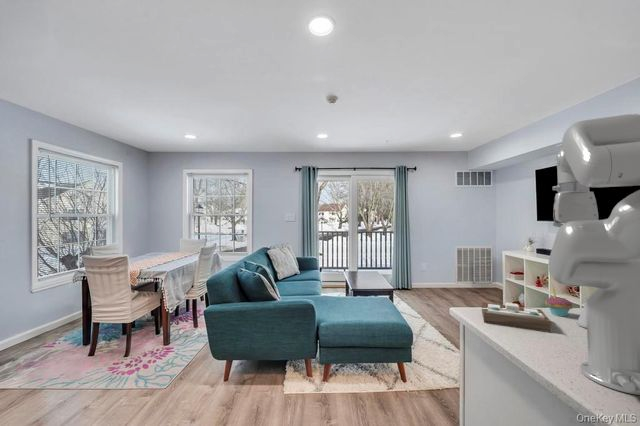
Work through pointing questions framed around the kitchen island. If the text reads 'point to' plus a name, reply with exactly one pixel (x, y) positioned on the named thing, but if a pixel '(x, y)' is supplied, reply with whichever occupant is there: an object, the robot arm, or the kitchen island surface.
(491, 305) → the white square block
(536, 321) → the board
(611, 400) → the kitchen island surface
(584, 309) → the flask
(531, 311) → the button right
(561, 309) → the cupcake
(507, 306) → the button mid
